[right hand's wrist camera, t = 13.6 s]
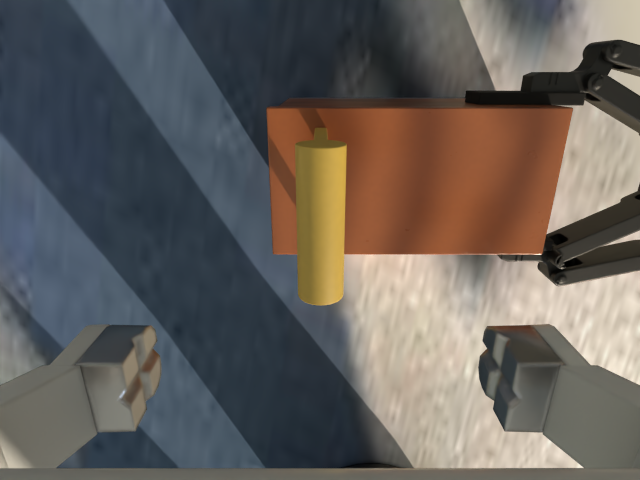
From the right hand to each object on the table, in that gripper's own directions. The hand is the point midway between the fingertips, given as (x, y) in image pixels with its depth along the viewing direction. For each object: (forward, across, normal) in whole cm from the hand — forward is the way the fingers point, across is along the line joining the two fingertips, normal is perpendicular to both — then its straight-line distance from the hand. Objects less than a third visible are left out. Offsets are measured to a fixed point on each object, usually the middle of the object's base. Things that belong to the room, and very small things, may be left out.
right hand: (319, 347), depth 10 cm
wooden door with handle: (+17, +6, 0) cm, 18 cm away
